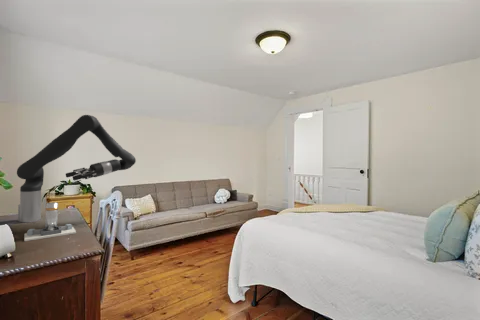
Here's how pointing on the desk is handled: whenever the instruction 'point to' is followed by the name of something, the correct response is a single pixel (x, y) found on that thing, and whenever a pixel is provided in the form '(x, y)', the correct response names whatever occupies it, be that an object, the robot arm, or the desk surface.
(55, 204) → the cylinder
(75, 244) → the desk surface
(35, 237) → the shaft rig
